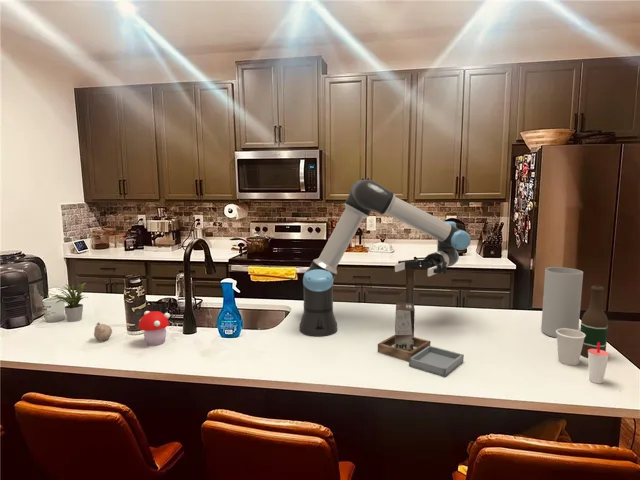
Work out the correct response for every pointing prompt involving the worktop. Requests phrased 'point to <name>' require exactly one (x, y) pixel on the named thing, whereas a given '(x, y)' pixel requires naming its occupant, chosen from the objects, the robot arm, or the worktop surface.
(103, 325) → the garlic bulb
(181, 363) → the worktop surface
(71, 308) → the house plant
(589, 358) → the cup
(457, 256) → the robot arm
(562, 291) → the cylinder vase
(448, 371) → the tray
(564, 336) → the dixie cup
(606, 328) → the beer bottle
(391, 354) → the brown square frame
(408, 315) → the coffee box
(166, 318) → the mushroom
